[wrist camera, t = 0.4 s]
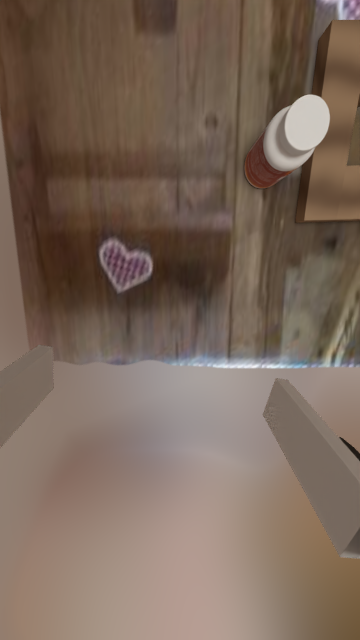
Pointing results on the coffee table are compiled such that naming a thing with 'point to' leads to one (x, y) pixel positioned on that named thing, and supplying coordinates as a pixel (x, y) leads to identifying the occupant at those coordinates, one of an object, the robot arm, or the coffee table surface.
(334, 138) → the square wooden frame
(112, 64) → the coffee table surface
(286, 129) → the pill bottle
